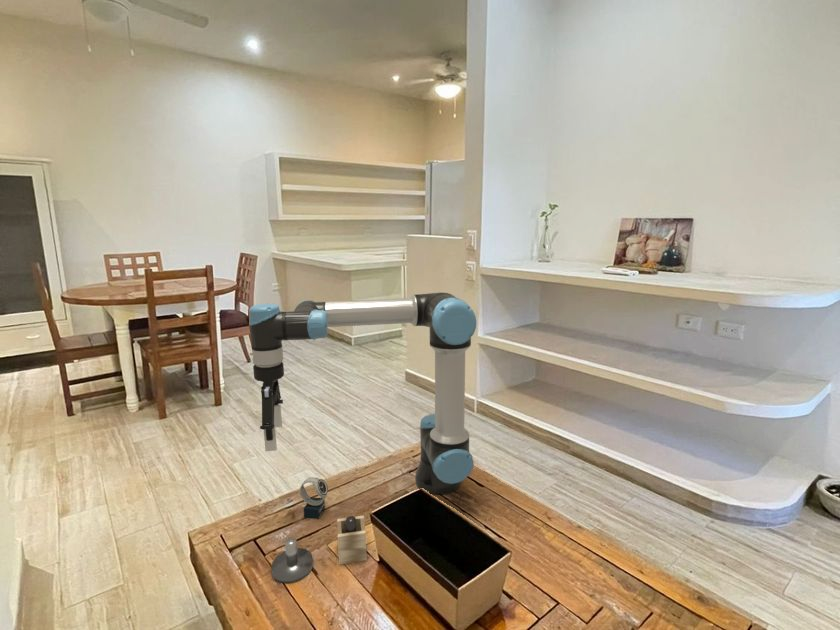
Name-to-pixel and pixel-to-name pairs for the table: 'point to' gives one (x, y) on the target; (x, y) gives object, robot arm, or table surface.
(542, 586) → the table surface
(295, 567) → the stand
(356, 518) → the wooden square sleeve
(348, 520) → the stand
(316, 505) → the watch
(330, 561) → the table surface
